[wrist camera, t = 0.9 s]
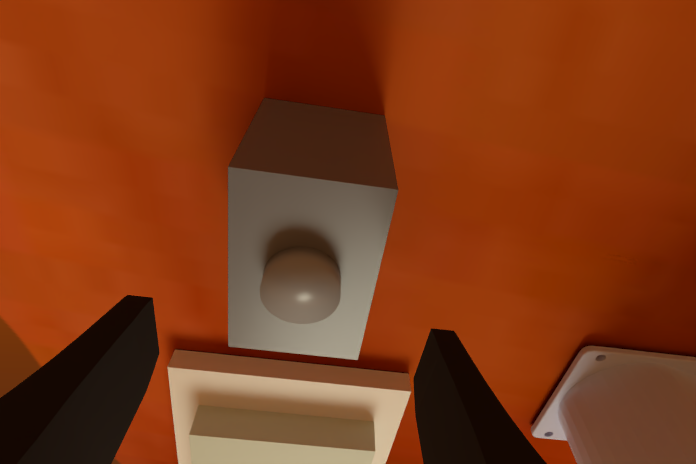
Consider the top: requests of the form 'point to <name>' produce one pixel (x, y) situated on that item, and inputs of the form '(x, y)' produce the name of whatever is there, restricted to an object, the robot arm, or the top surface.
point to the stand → (282, 411)
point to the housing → (307, 228)
